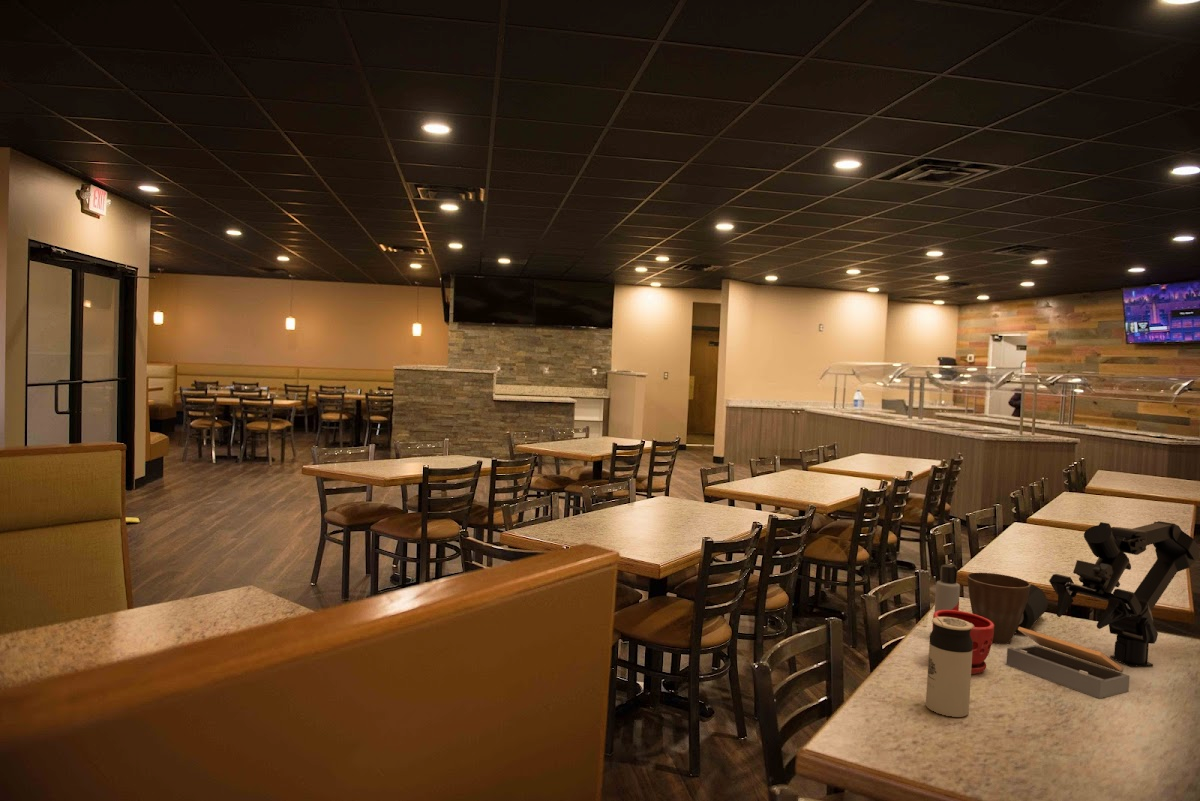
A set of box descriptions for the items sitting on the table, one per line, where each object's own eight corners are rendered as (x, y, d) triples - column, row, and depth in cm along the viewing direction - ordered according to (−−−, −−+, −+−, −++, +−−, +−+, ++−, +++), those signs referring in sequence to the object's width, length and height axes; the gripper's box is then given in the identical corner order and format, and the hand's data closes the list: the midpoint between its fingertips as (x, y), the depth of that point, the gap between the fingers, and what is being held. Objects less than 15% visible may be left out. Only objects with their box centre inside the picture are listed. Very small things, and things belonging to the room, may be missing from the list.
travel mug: (966, 706, 160) (971, 619, 160) (970, 721, 153) (976, 630, 152) (924, 699, 163) (929, 613, 163) (927, 713, 155) (932, 624, 155)
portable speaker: (1010, 612, 235) (1013, 579, 235) (1048, 619, 228) (1050, 585, 228) (990, 630, 215) (992, 594, 215) (1030, 639, 209) (1033, 602, 208)
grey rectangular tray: (1034, 658, 192) (1036, 640, 192) (1128, 691, 173) (1129, 670, 173) (1006, 664, 187) (1007, 645, 187) (1099, 698, 168) (1101, 677, 168)
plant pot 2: (1038, 650, 199) (1042, 588, 199) (979, 647, 199) (983, 585, 199) (1008, 631, 214) (1012, 574, 213) (954, 629, 214) (957, 571, 214)
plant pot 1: (930, 671, 180) (933, 620, 179) (929, 654, 192) (932, 606, 192) (993, 682, 175) (997, 629, 175) (988, 664, 187) (991, 614, 187)
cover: (1040, 645, 191) (1041, 641, 191) (1122, 672, 174) (1123, 668, 174) (1017, 630, 186) (1019, 626, 187) (1100, 656, 170) (1101, 652, 170)
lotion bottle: (959, 645, 200) (963, 568, 199) (935, 642, 201) (940, 565, 201) (953, 638, 206) (958, 563, 205) (930, 636, 207) (935, 561, 206)
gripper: (1055, 540, 192) (1025, 589, 187) (1137, 557, 175) (1106, 611, 171) (1072, 570, 196) (1043, 618, 191) (1154, 589, 179) (1124, 642, 174)
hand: (1077, 621), depth 182 cm, fingers open, 9 cm apart
